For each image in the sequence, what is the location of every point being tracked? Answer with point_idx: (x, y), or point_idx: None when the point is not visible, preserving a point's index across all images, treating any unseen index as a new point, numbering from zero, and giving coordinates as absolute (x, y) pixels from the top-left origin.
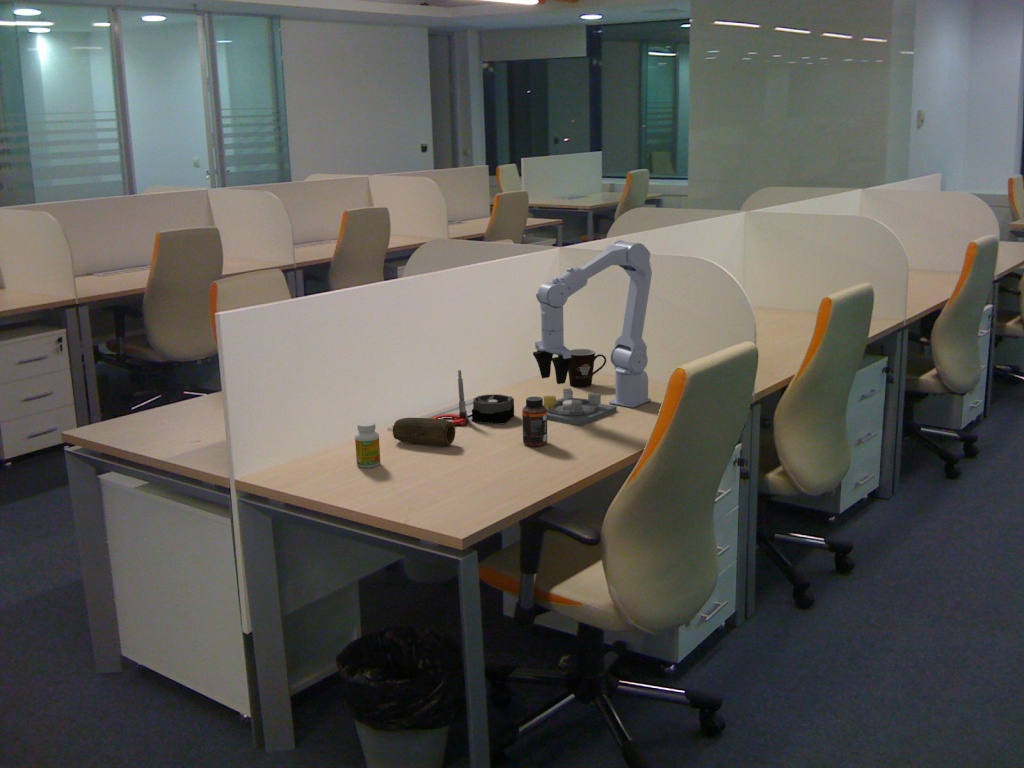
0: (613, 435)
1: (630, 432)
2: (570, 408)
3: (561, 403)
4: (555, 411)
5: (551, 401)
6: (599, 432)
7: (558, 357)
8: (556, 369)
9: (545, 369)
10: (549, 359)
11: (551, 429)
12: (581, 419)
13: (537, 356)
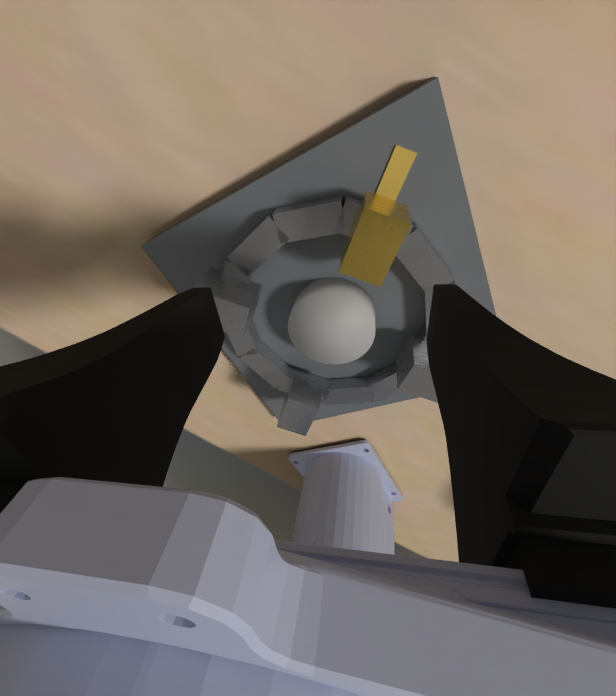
0: (17, 274)
1: (51, 331)
2: (299, 296)
3: (424, 316)
4: (283, 210)
5: (350, 239)
6: (55, 253)
7: (14, 479)
8: (96, 342)
9: (445, 356)
10: (458, 473)
11: (119, 74)
12: (166, 263)
13: (519, 401)
